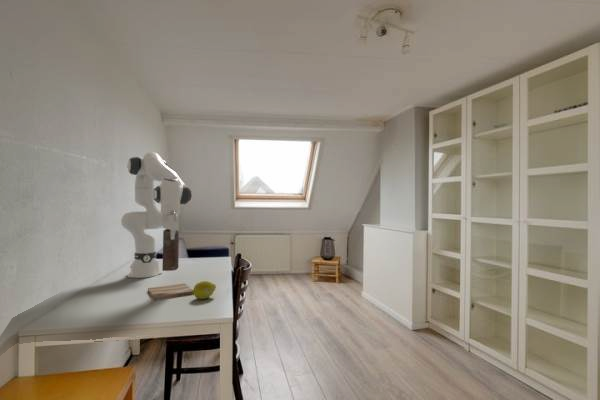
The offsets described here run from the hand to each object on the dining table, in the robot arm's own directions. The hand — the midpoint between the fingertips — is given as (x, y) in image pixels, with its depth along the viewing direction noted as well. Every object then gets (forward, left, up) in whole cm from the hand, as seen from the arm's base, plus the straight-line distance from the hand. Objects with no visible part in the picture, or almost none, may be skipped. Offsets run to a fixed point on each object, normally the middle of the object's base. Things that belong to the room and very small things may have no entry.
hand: (170, 238), depth 162 cm
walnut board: (0, 0, -27) cm, 27 cm away
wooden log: (0, 0, -16) cm, 16 cm away
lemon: (+19, +11, -27) cm, 35 cm away
